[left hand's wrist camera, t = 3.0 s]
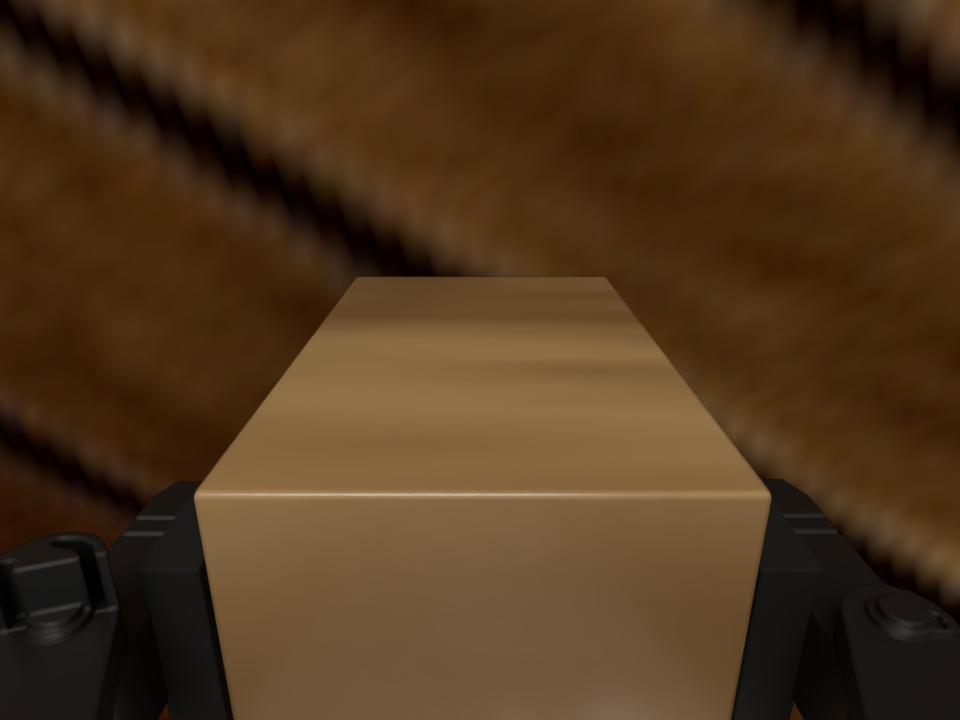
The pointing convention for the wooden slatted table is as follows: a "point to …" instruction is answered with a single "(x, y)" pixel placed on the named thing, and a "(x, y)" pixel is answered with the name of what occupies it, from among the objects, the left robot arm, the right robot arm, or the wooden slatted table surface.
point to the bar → (482, 517)
